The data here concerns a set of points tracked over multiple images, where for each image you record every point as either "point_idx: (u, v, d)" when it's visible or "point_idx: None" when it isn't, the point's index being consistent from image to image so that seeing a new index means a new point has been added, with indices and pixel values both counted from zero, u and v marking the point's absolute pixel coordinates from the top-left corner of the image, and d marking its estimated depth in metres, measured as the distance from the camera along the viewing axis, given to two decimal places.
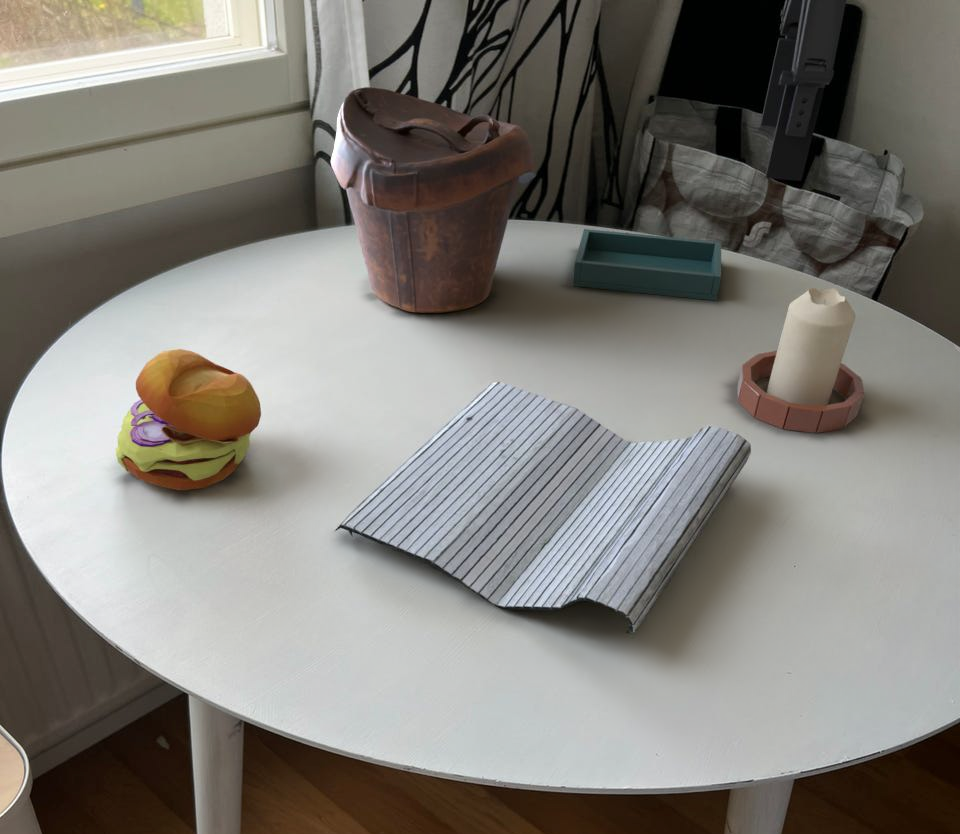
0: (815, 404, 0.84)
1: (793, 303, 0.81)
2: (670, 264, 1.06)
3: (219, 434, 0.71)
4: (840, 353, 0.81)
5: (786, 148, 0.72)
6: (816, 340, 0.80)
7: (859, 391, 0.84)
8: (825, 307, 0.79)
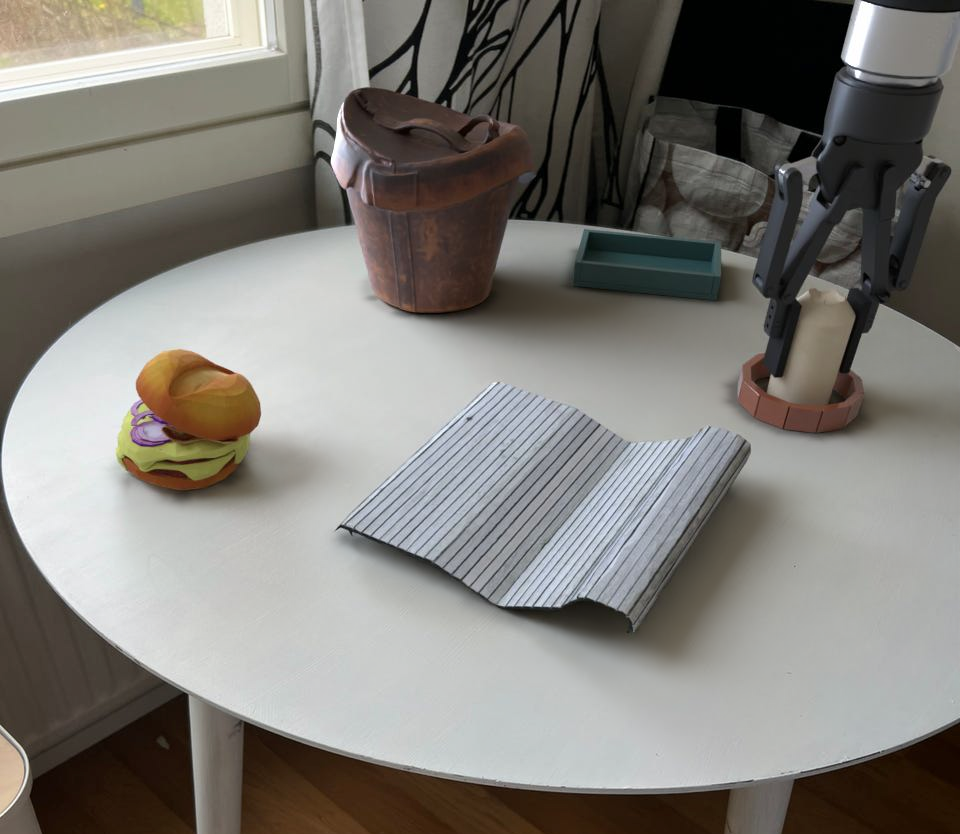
0: (815, 404, 0.84)
1: None
2: (670, 264, 1.06)
3: (219, 434, 0.71)
4: (841, 353, 0.81)
5: (772, 345, 0.82)
6: (816, 340, 0.80)
7: (859, 391, 0.84)
8: (825, 307, 0.79)
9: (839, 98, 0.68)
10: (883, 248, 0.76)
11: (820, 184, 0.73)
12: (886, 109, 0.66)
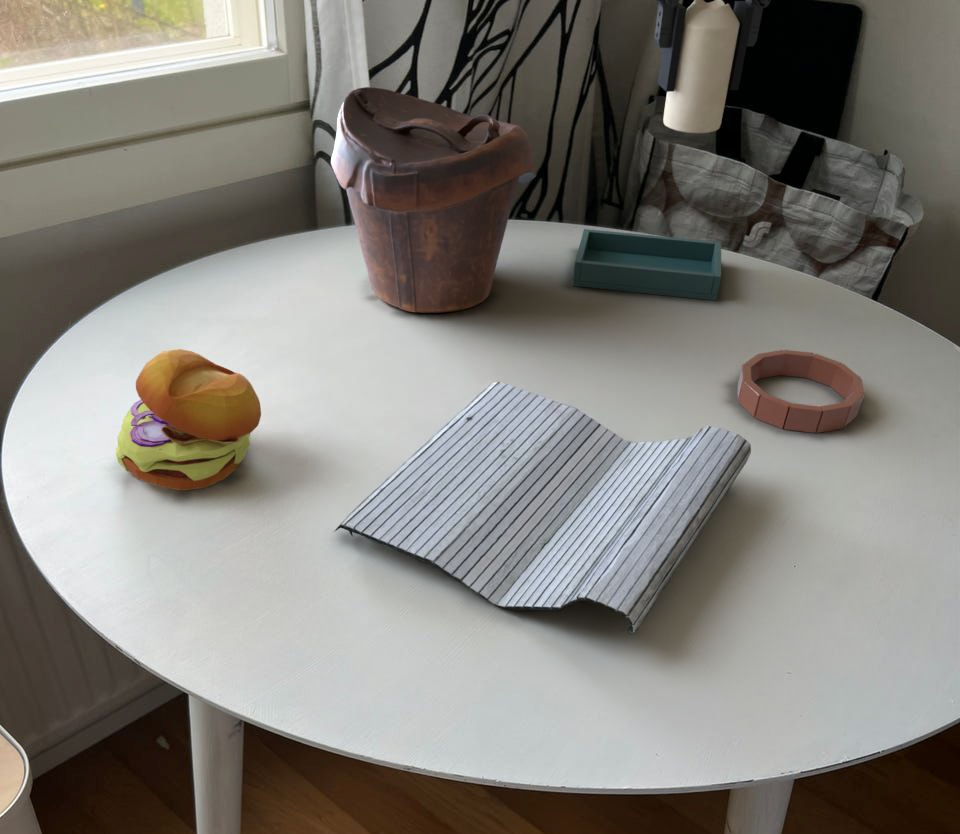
0: (706, 120, 0.88)
1: None
2: (670, 264, 1.06)
3: (219, 434, 0.71)
4: (727, 63, 0.86)
5: (664, 59, 0.87)
6: (702, 44, 0.84)
7: (859, 391, 0.84)
8: (709, 10, 0.83)
9: None
10: None
11: None
12: None
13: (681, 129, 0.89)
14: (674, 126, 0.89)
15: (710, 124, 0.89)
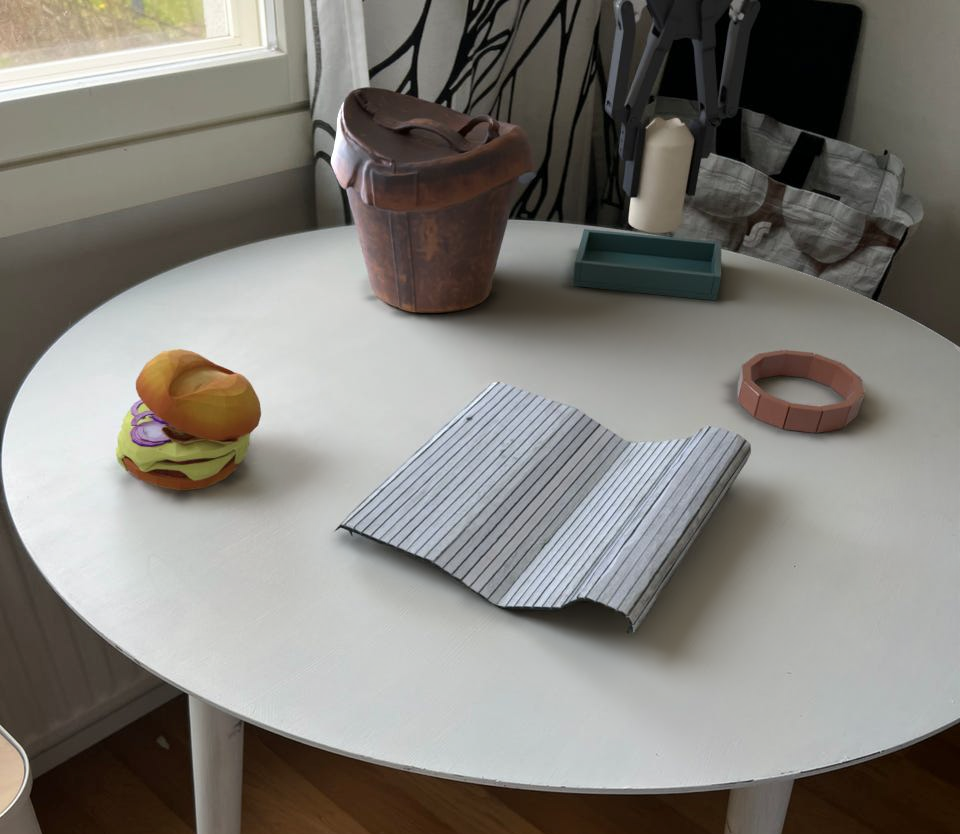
0: (666, 222, 0.98)
1: None
2: (670, 264, 1.06)
3: (219, 434, 0.71)
4: (683, 174, 0.96)
5: (628, 169, 0.97)
6: (660, 159, 0.94)
7: (859, 391, 0.84)
8: (666, 130, 0.93)
9: None
10: (710, 76, 0.91)
11: (652, 17, 0.88)
12: None
13: (644, 229, 0.99)
14: (637, 227, 1.00)
15: (669, 225, 0.99)
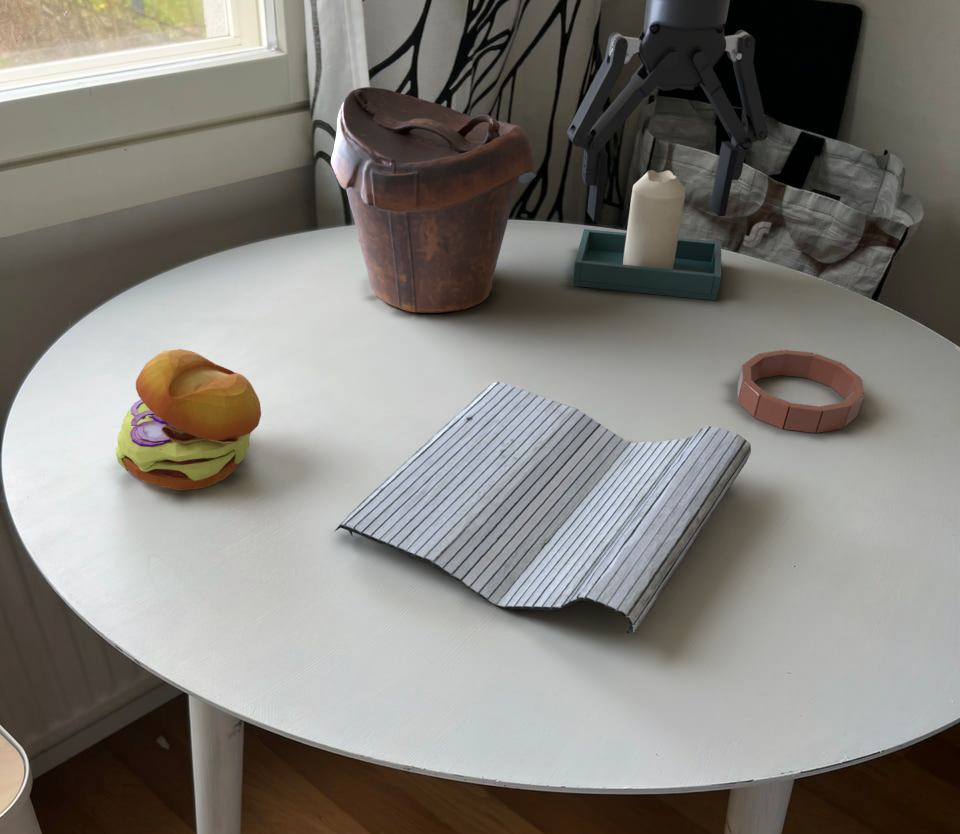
0: None
1: (636, 183, 0.99)
2: None
3: (219, 434, 0.71)
4: (675, 224, 0.99)
5: (591, 193, 0.98)
6: (653, 211, 0.98)
7: (859, 391, 0.84)
8: (658, 183, 0.97)
9: None
10: (727, 109, 0.93)
11: (646, 68, 0.91)
12: (684, 0, 0.84)
13: None
14: None
15: None
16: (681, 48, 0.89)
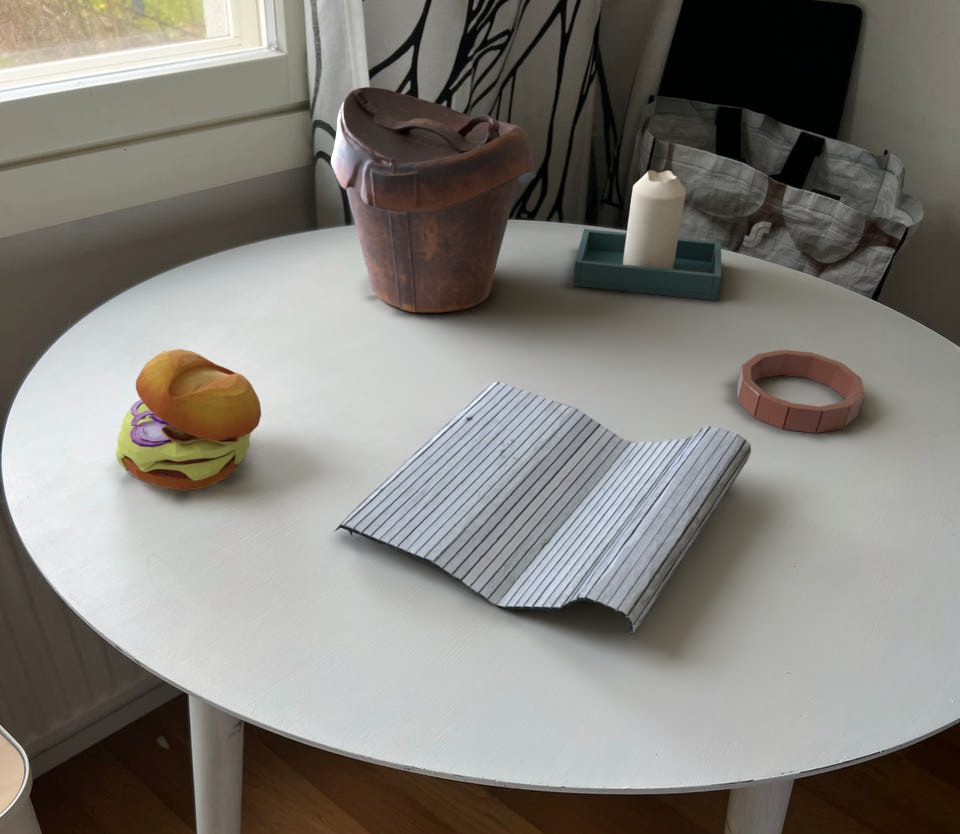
0: None
1: (636, 183, 0.99)
2: None
3: (219, 434, 0.71)
4: (675, 224, 0.99)
5: None
6: (653, 211, 0.98)
7: (859, 391, 0.84)
8: (659, 183, 0.97)
9: None
10: None
11: None
12: None
13: None
14: None
15: None
16: None
